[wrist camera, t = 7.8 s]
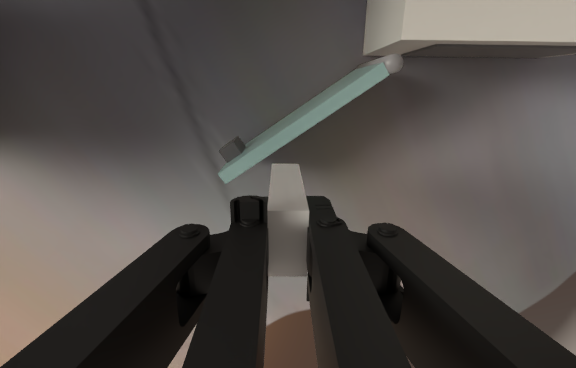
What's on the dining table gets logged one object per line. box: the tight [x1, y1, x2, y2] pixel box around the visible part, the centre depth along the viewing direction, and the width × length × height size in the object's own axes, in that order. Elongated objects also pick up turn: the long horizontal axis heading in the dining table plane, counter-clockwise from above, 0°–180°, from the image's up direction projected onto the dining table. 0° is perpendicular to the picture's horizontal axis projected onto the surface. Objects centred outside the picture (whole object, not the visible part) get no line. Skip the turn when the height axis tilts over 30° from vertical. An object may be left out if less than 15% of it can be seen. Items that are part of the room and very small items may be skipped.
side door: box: [218, 54, 403, 184], centre depth 21 cm, size 12×2×8 cm, turn 124°
